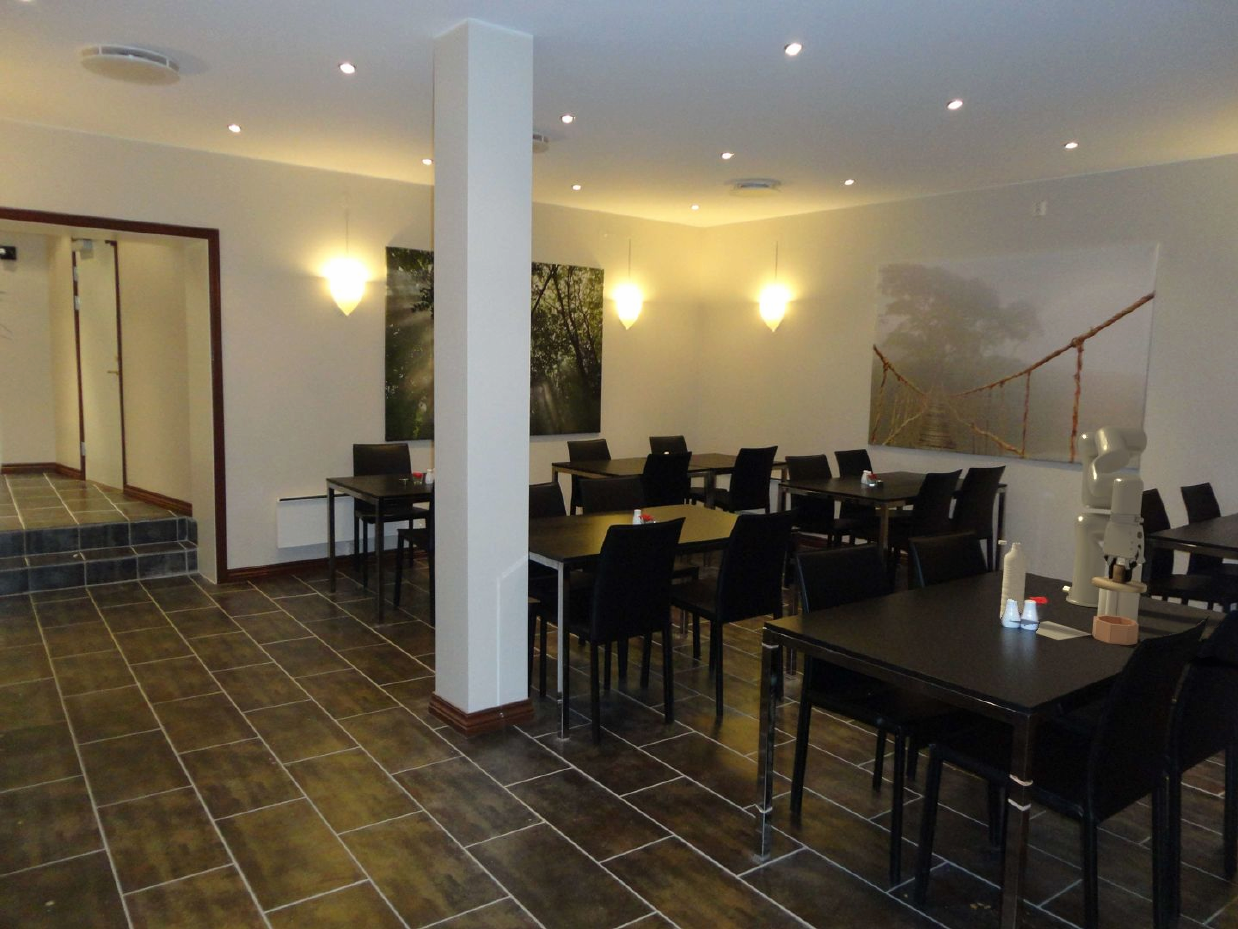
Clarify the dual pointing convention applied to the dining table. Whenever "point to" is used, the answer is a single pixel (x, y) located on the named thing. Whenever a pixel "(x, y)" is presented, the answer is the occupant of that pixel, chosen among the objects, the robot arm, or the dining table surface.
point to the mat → (1058, 631)
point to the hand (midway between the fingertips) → (1119, 579)
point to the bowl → (1115, 629)
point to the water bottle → (1013, 576)
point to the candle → (1120, 599)
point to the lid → (1119, 582)
